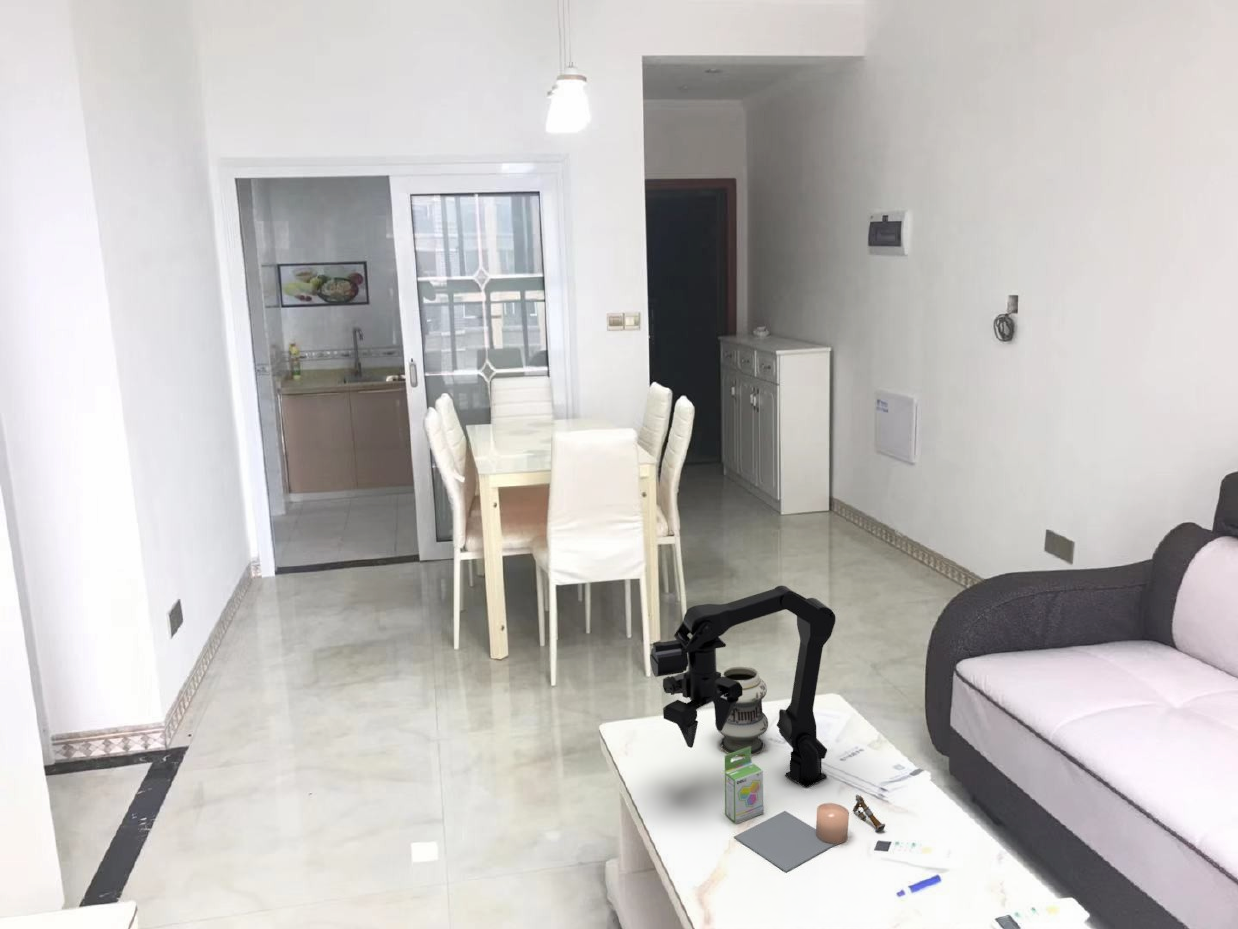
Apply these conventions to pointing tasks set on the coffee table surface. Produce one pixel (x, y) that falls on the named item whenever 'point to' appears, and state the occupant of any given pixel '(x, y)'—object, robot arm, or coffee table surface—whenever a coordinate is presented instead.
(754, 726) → the apothecary jar
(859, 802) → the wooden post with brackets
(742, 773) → the ink box
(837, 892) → the coffee table surface
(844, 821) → the peach pillar candle
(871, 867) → the coffee table surface
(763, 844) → the slate mat
